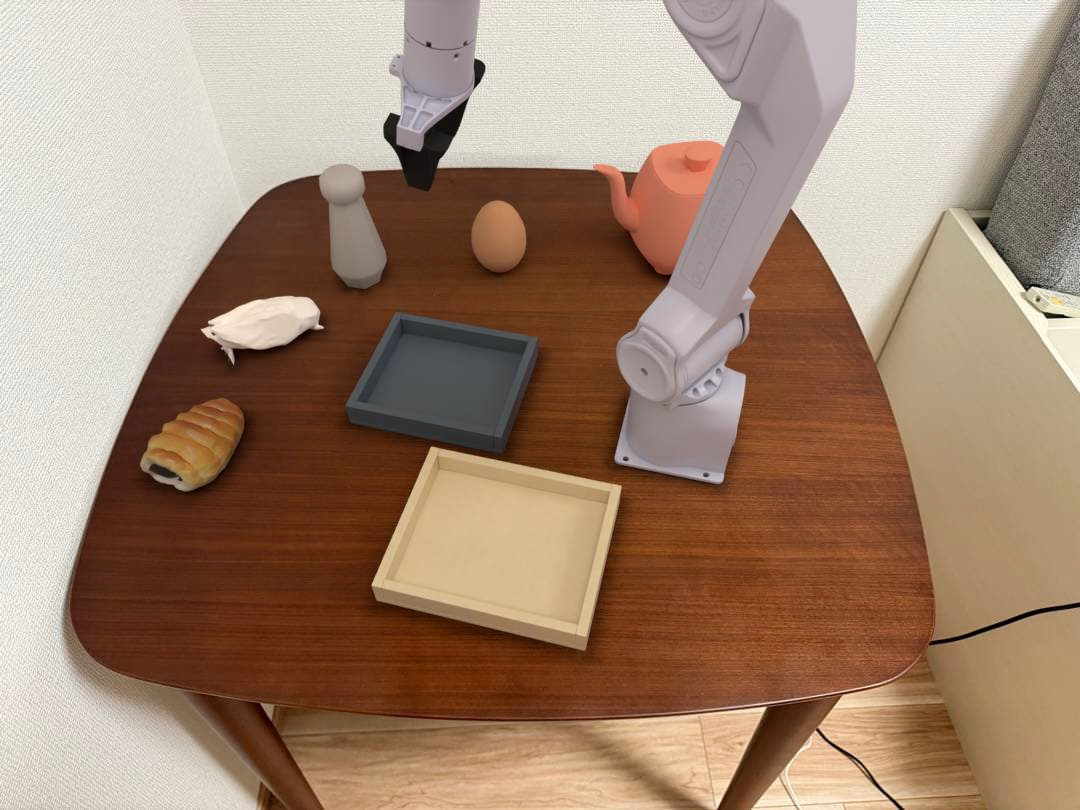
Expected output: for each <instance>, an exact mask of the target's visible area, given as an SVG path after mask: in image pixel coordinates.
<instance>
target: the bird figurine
mask: <svg viewBox="0 0 1080 810" xmlns="http://www.w3.org/2000/svg"><path fill="white" fill-rule="evenodd" d="M320 316H321V310H320V308H319V307H318V306H317V304H316V303H315V301H314V300H313V299H311V298H310V297H306V296H293V295H284V296H275V297H269V298H264V299H256V300H252V301H249V302H247V303H244V304H242V305H239V306H237V307H235V308H234V309H232V310H229V311H228V312H226V313H223V314H221V315H218V316H216V317H215V318H213V319H210V320H208V322H207V324H208V326H206V327H203V328H200V331H201V332H202V333H203V334H204V335H205V336H206V338H208V339H211V340H213V341H215V342H216V343H217V344H219V346H221V347H220V349H221V351H224V352H225V353H224V354H225V356H226V355H227V356H228V359H227V360H228V361H229V362H231V363H232V364H233V367H234V366H235V361H236V360H235V355H234V349H239V350H247V349H252V350H258V351H259V350H260V351H261V350H267V349H271V348H274V347H279V346H286V345H288V344H289V343H291V342H292V341H293V340H295V339H296V338H298V337H299V336H300V335H301V334H303V333H304V332H305V331H307V330H314V331H319V330H324V329H325V327H324V326H322V325H320V324H319V321H320Z"/></svg>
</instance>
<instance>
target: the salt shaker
mask: <svg viewBox="0 0 1080 810" xmlns="http://www.w3.org/2000/svg"><path fill="white" fill-rule="evenodd" d="M318 183H319V190H320V193H321V195H322V197H323V198H324V199H325V200H326V201H327V202H328V213H329V214H328V215H329V246H330V248H329V251H330V263H331V268H332V270H333V272H335V274H336V275H337V276H338V277H339V278H340V279H341V280H342V281H343V282H344V284H346V286H347V287H349V288H355V289H361V290H366V289H368V288H370V287H372V286H374V285H376V284H378V283H380V282H381V278H382V274H383V271H384V269H385V267H386V264H387V261H388V259H387V254H386V249H385V247H384V244H383V243H382V239H381V237H380V234H379V233H378V229H377V228H376V226H375V224H374V220H373V218H372V216H371V214H370V211H369V209H368V207H367V204H366V202H365V199H364V197H363V195H364V193H365V191H366V184H365V179H364V175H363V172H362V171H361V170H360V169H359V168H357V167H356V166H355V165H352V164H348V163H338V164H333V165H330V166H329V167H327V168H325V169H324V170H323V171H322V172H321V174H320V175H319V177H318Z"/></svg>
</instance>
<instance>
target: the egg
mask: <svg viewBox="0 0 1080 810" xmlns="http://www.w3.org/2000/svg"><path fill="white" fill-rule="evenodd" d="M471 246H472V252H473V254H474V256H475V257H476V259H477V261H478V263H480V264H481V265H482V266H483V267H484V268H486V269H487V270H489V271H490V272H493V273H506V272H508V271H511V270H512V269H514V268H515V267H516V266H518V265H519V263H520V262H521V260H522V259H523V256H524V255H525V252H526V248H527V232H526V226H525V224H524V221H523V219H522V218H521V216H520V214H519V212H518V211H517V210H516V209H515V207H513V205H511V204H510V203H507V202H506V201H503V200H493V201H490V202H488V203H486V204H485V205H483V206H482V207H481V208H480V209H479V211H478V213H477V214H476V217H475V219H474V221H473V223H472V227H471Z"/></svg>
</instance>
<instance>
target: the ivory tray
mask: <svg viewBox="0 0 1080 810" xmlns="http://www.w3.org/2000/svg"><path fill="white" fill-rule="evenodd" d="M622 487H623V486H622V485H619V484H615V483H609V482H606V481H605V482H604V481H599V480H595V479H590V478H585V477H581V476H575V475H571V474H565V473H561V472H556V471H551V470H547V469H543V468H542V469H541V468H537V467H532V466H527V465H522V464H517V463H513V462H507V461H502V460H498V459H493V458H488V457H483V456H478V455H473V454H469V453H464V452H460V451H455V450H451V449H450V450H449V449H445V448H440V447H436V446H430V448H429V450H428V452H427V455H426V458H425V460H424V462H423V465H422V467H421V469H420V471H419V474H418V476H417V478H416V481H415V482H414V485H413V488H412V489H411V490H412V491H411V493H410V495H409V497H408V499H407V501H406V504H405V505H404V509H403V511H402V513H401V515H400V517H399V520H398V523H397V525H396V527H395V529H394V532H393V534H392V536H391V538H390V541H389V543H388V546H387V548H386V549H385V553H384V554H383V557H382V559H381V562H380V565H379V566H378V569H377V572H376V573H375V576H374V578H373V581H372V583H371V585H370V586H371V589H372V591H373V594H374V598H375V601H377V602H381V603H385V604H389V605H394V606H396V607H397V606H398V607H402V608H406V609H409V610H414V611H417V612H423V613H427V614H431V615H435V616H439V617H443V618H447V619H451V620H456V621H459V622H463V623H467V624H472V625H475V626H476V625H477V626H480V627H485V628H487V629H488V628H489V629H493V630H496V631H500V632H505V633H510V634H514V635H517V636H522V637H525V638H530V639H533V640H538V641H542V642H546V643H551V644H554V645H559V646H563V647H567V648H571V649H575V650H580V651H583V652H584V651H586V649H587V645H588V641H589V636H590V632H591V628H592V624H593V620H594V615H595V611H596V606H597V603H598V597H599V593H600V589H601V585H602V580H603V576H604V572H605V567H606V563H607V558H608V554H609V552H610V551H609V550H610V546H611V542H612V537H613V533H614V529H615V525H616V524H615V523H616V520H617V515H618V512H619V511H618V510H619V507H620V503H621V496H622V495H621V494H622Z"/></svg>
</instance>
